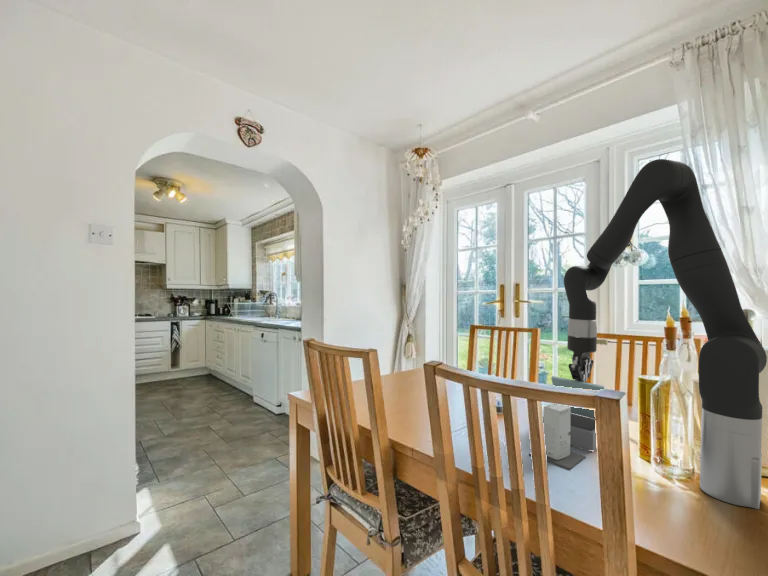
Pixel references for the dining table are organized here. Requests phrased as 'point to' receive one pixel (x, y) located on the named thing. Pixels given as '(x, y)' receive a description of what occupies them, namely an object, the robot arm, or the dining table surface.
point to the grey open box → (582, 432)
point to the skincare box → (557, 430)
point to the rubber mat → (567, 460)
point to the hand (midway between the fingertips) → (580, 393)
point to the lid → (577, 384)
